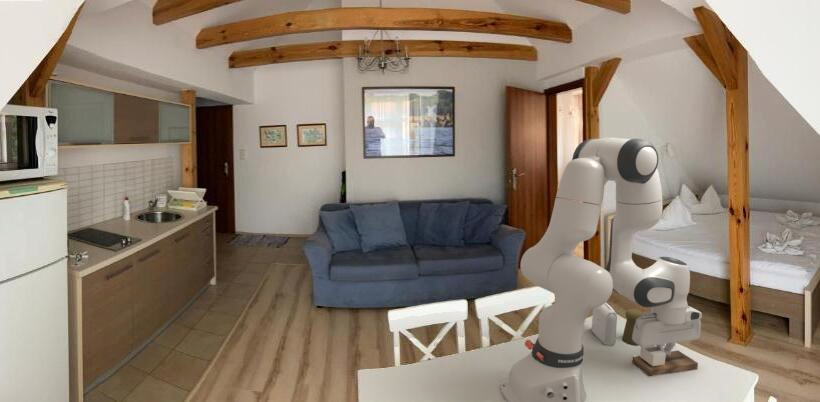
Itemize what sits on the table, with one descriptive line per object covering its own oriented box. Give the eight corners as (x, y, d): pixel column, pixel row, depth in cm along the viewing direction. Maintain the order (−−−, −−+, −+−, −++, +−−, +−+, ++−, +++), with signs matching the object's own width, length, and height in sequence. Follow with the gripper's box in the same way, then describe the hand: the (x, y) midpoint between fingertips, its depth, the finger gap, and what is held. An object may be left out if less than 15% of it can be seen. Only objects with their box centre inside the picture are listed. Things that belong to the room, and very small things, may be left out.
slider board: (649, 376, 116) (650, 369, 115) (632, 362, 123) (632, 356, 122) (697, 369, 119) (698, 362, 118) (677, 356, 126) (678, 350, 125)
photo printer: (589, 330, 142) (591, 297, 140) (601, 330, 142) (604, 297, 140) (604, 346, 132) (606, 311, 130) (617, 345, 132) (619, 310, 130)
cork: (645, 346, 131) (648, 315, 129) (625, 345, 133) (627, 313, 131) (638, 337, 137) (641, 307, 135) (619, 335, 138) (621, 305, 136)
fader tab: (652, 366, 117) (653, 354, 116) (639, 356, 122) (640, 345, 121) (664, 364, 117) (665, 352, 117) (651, 355, 122) (652, 343, 122)
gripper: (645, 320, 113) (641, 365, 115) (707, 312, 116) (702, 356, 119) (629, 310, 119) (625, 353, 121) (688, 303, 122) (683, 345, 125)
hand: (663, 355), depth 120 cm, fingers closed
